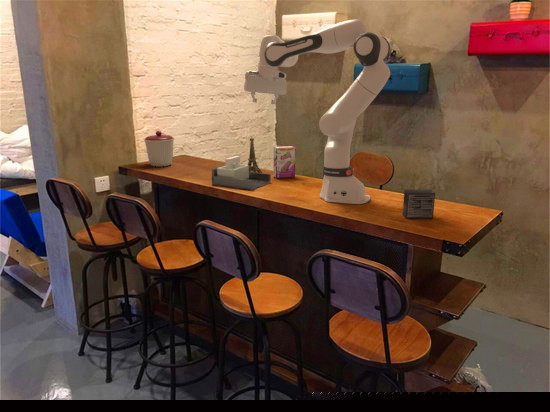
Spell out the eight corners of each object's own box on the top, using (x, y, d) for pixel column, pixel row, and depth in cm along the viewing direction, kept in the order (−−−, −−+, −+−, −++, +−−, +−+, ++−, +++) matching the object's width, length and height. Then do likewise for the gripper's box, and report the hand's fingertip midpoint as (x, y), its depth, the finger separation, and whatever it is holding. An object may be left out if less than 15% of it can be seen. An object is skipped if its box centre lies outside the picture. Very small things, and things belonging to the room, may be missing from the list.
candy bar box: (276, 178, 241) (276, 148, 237) (273, 176, 246) (272, 146, 241) (295, 177, 245) (295, 147, 240) (292, 175, 250) (292, 145, 245)
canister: (139, 166, 273) (136, 131, 267) (158, 161, 289) (155, 128, 283) (164, 169, 266) (161, 133, 260) (182, 163, 282) (179, 129, 276)
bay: (270, 182, 233) (270, 167, 231) (252, 190, 218) (252, 173, 216) (232, 177, 244) (231, 163, 242) (212, 184, 229) (211, 169, 227)
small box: (428, 214, 180) (431, 188, 177) (433, 219, 173) (436, 192, 170) (401, 214, 180) (403, 188, 177) (405, 219, 174) (407, 192, 171)
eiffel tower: (258, 179, 241) (258, 132, 234) (240, 178, 244) (239, 131, 237) (264, 175, 251) (264, 129, 244) (246, 174, 253) (245, 129, 246)
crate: (248, 178, 236) (248, 156, 233) (233, 184, 225) (233, 160, 221) (233, 176, 241) (232, 154, 238) (217, 181, 229) (216, 158, 226)
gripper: (248, 70, 200) (245, 102, 204) (289, 75, 208) (286, 105, 212) (243, 69, 206) (240, 100, 210) (284, 74, 214) (281, 103, 218)
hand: (264, 103), depth 211 cm, fingers open, 8 cm apart
